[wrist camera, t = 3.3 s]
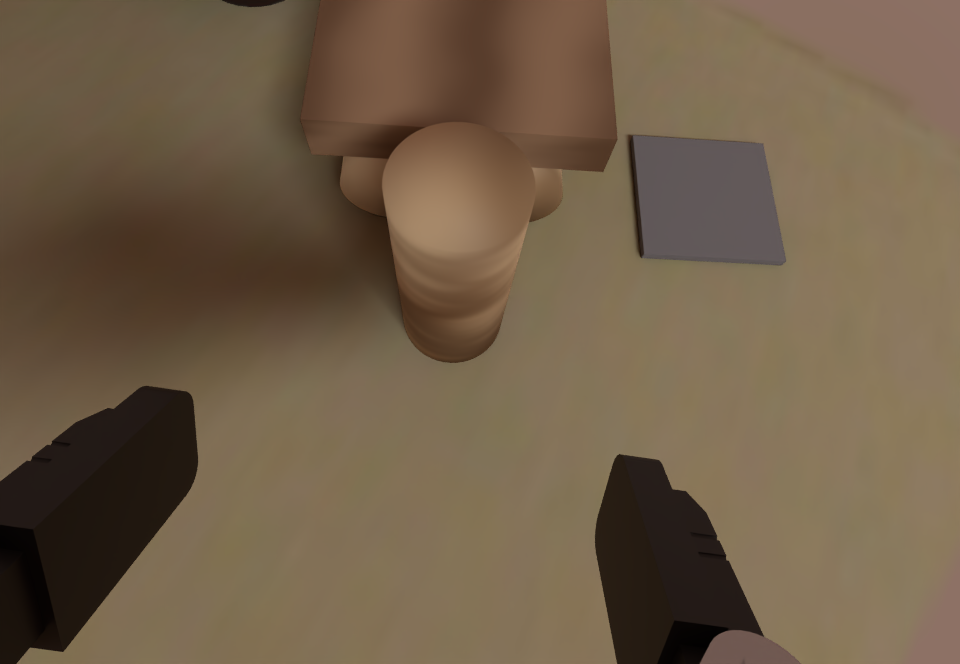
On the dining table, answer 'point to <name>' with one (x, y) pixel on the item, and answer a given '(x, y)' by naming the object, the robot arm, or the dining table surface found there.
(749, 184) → the mat
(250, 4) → the coffee mug
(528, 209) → the roller
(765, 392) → the dining table surface
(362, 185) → the slab
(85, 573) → the robot arm
